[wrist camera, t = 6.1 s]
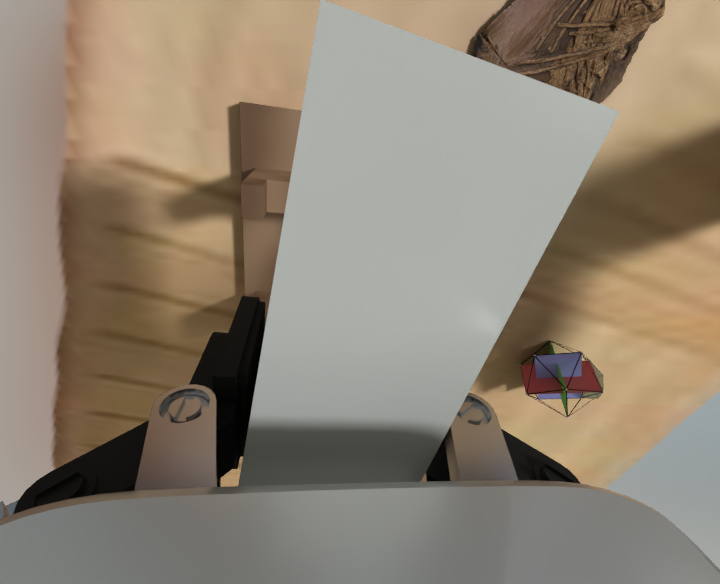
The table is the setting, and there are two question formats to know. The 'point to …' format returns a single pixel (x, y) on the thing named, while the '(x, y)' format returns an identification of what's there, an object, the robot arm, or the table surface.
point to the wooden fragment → (569, 41)
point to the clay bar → (402, 247)
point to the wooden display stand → (264, 189)
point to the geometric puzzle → (562, 377)
